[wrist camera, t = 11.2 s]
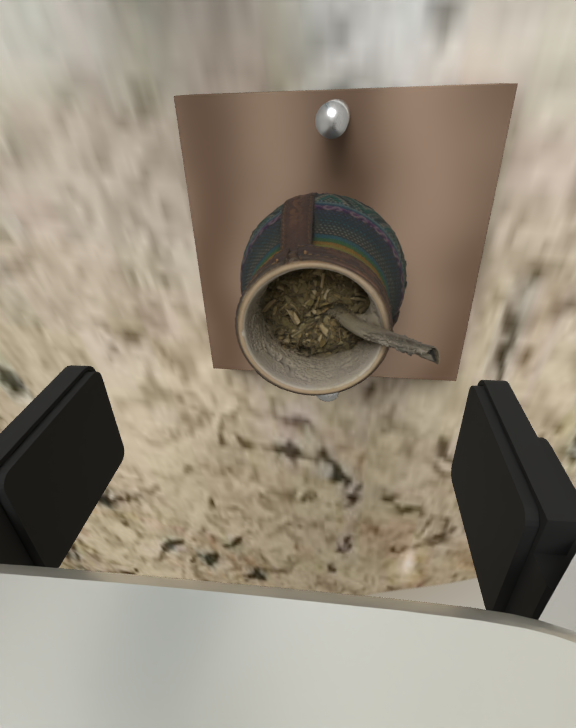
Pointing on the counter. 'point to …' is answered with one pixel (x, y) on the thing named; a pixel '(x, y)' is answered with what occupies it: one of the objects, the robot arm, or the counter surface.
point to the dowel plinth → (351, 193)
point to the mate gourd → (322, 295)
